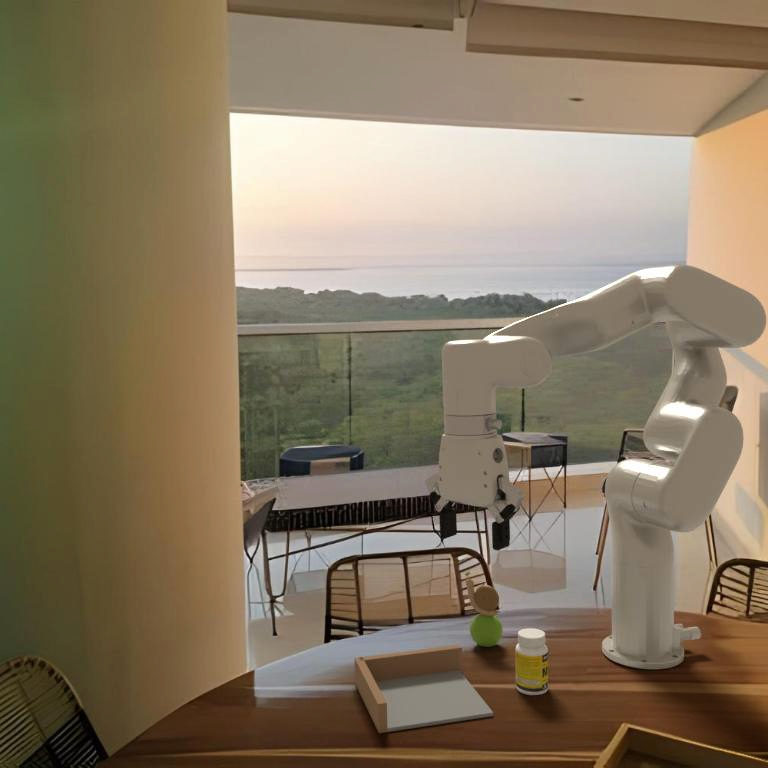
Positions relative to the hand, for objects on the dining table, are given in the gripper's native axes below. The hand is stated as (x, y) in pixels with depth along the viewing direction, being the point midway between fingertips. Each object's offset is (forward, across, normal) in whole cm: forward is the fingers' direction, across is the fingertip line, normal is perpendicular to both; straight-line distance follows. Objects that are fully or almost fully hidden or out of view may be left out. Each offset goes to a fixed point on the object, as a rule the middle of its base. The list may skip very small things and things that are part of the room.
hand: (474, 542), depth 115 cm
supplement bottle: (+22, -6, -5) cm, 24 cm away
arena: (+22, +4, +8) cm, 24 cm away
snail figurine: (+22, +9, -13) cm, 28 cm away
